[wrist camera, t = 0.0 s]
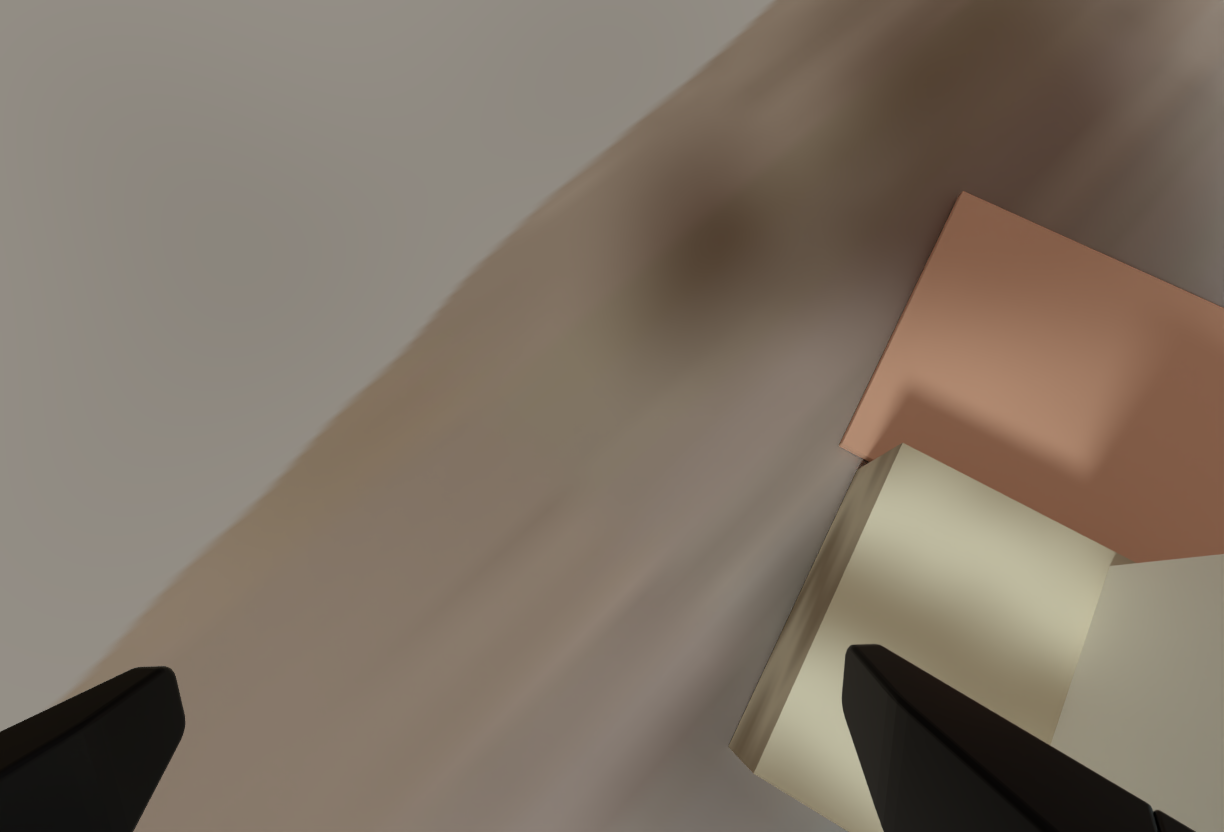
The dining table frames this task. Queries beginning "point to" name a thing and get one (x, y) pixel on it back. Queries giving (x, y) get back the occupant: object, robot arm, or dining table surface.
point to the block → (1155, 688)
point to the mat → (1059, 385)
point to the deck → (921, 621)
